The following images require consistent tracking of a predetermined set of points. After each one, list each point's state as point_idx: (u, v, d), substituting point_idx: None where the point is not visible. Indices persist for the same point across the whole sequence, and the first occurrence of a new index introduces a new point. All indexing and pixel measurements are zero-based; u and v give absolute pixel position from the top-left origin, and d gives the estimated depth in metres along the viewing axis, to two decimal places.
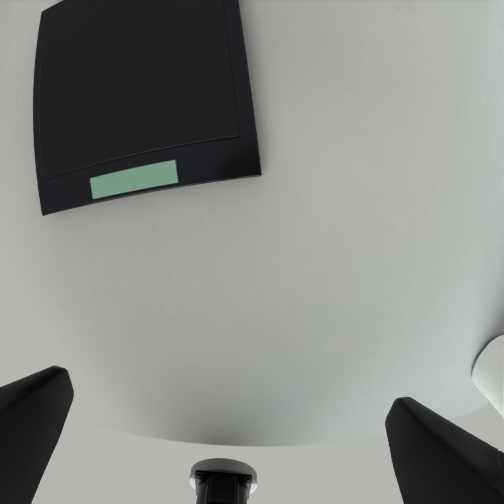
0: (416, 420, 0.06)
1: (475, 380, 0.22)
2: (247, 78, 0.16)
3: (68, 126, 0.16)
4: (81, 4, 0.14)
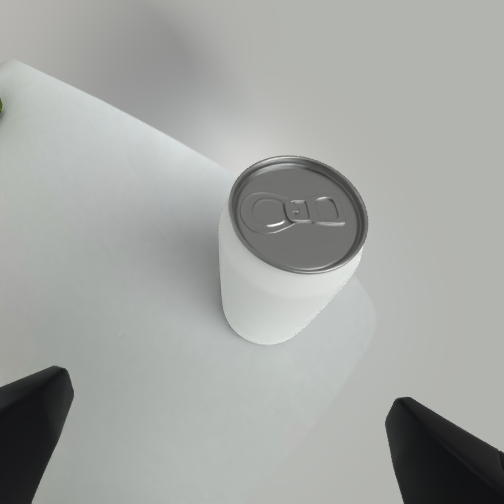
0: (416, 420, 0.06)
1: (258, 341, 0.20)
2: None
3: None
4: None
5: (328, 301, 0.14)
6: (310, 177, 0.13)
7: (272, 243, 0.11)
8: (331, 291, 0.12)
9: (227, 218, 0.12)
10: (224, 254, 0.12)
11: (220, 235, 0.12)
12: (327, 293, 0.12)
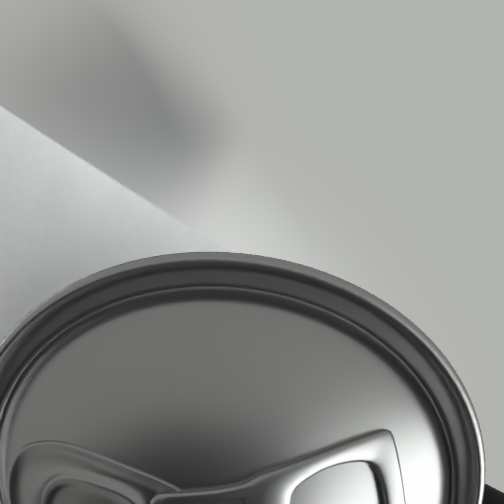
0: None
1: None
2: None
3: None
4: None
5: None
6: (275, 355, 0.03)
7: None
8: None
9: None
10: None
11: None
12: None
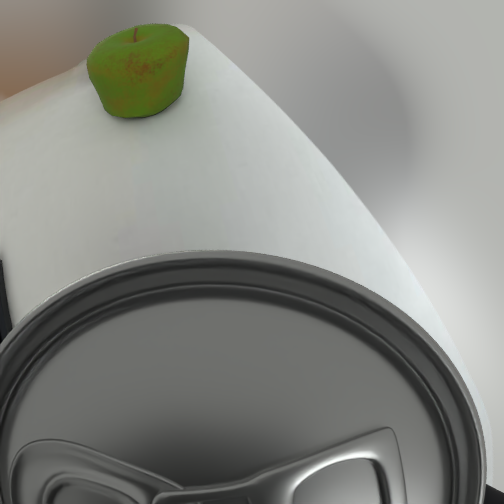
0: None
1: None
2: None
3: None
4: None
5: None
6: (277, 353, 0.03)
7: None
8: None
9: None
10: None
11: None
12: None
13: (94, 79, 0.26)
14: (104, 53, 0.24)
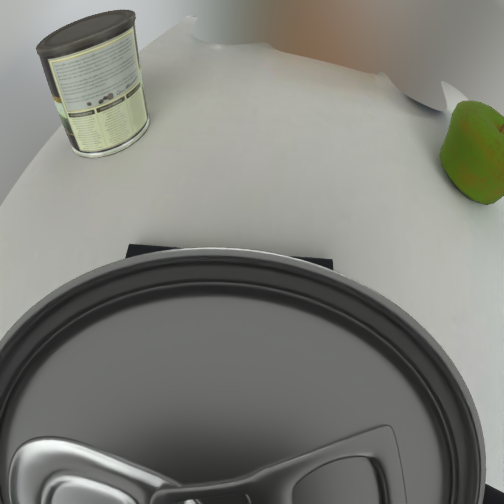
0: None
1: None
2: None
3: None
4: None
5: None
6: (276, 350, 0.03)
7: None
8: None
9: None
10: None
11: None
12: None
13: (467, 143, 0.25)
14: (490, 131, 0.22)
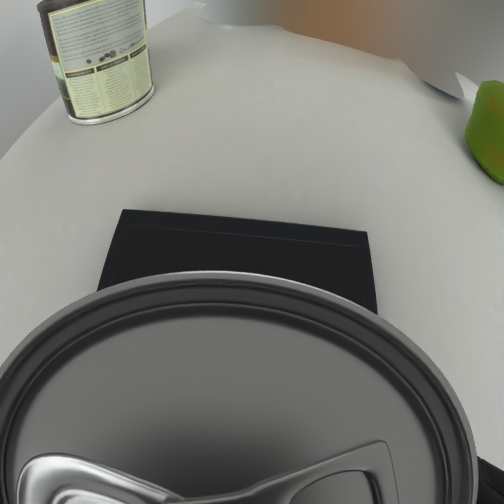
0: None
1: None
2: None
3: None
4: (182, 236, 0.17)
5: None
6: (274, 370, 0.03)
7: None
8: None
9: None
10: None
11: None
12: None
13: (496, 119, 0.20)
14: None
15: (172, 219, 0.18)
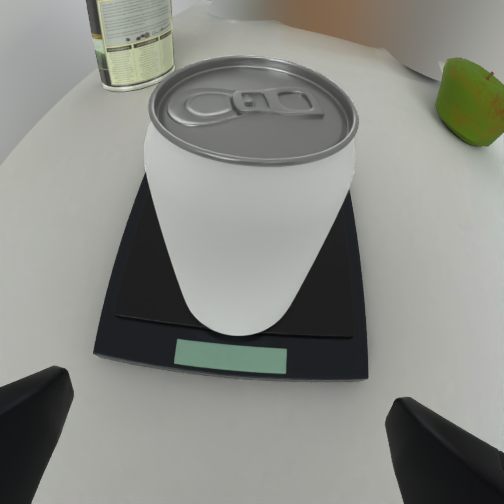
0: (416, 420, 0.06)
1: (227, 331, 0.15)
2: (361, 282, 0.19)
3: (166, 271, 0.18)
4: None
5: (313, 247, 0.09)
6: (270, 75, 0.08)
7: (211, 135, 0.07)
8: (314, 213, 0.07)
9: (151, 122, 0.07)
10: (147, 173, 0.08)
11: (144, 150, 0.08)
12: (308, 216, 0.07)
13: (457, 86, 0.26)
14: (476, 75, 0.24)
15: None
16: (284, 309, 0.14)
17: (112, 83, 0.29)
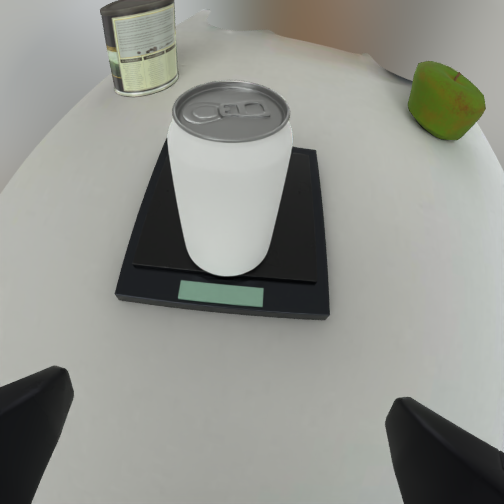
0: (416, 420, 0.06)
1: (218, 270, 0.21)
2: (324, 243, 0.25)
3: (173, 232, 0.23)
4: None
5: (268, 194, 0.15)
6: (242, 93, 0.14)
7: (206, 128, 0.13)
8: (262, 169, 0.13)
9: (172, 121, 0.13)
10: (170, 150, 0.14)
11: (168, 137, 0.14)
12: (258, 170, 0.13)
13: (424, 87, 0.32)
14: (441, 76, 0.30)
15: None
16: (259, 252, 0.20)
17: (124, 89, 0.35)
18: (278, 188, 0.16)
